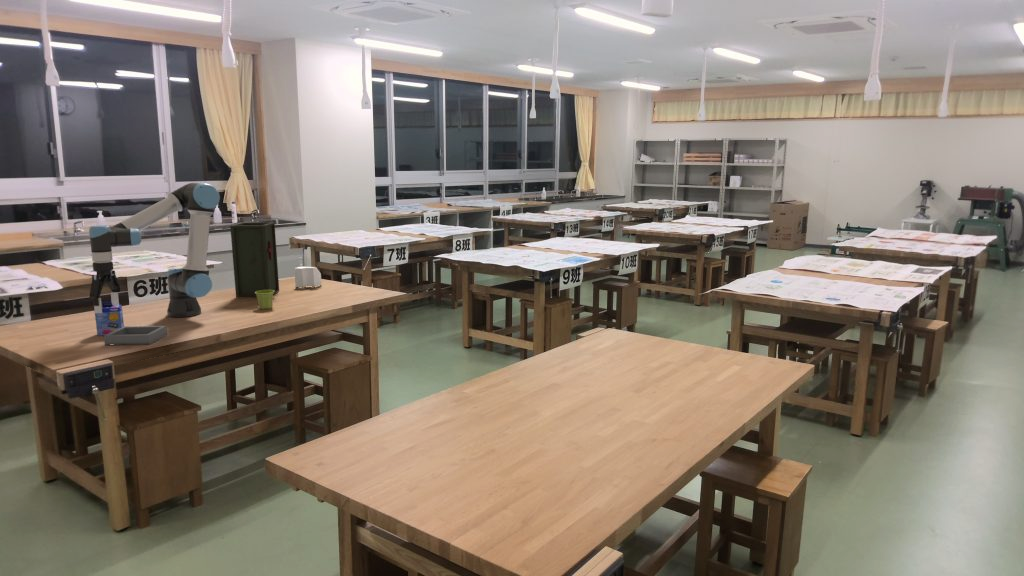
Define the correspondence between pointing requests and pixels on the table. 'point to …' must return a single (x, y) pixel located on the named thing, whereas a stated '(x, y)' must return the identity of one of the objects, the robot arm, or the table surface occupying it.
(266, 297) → the plant pot
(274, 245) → the first aid box
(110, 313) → the ink cartridge box
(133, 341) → the tray
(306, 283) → the white rounded block
